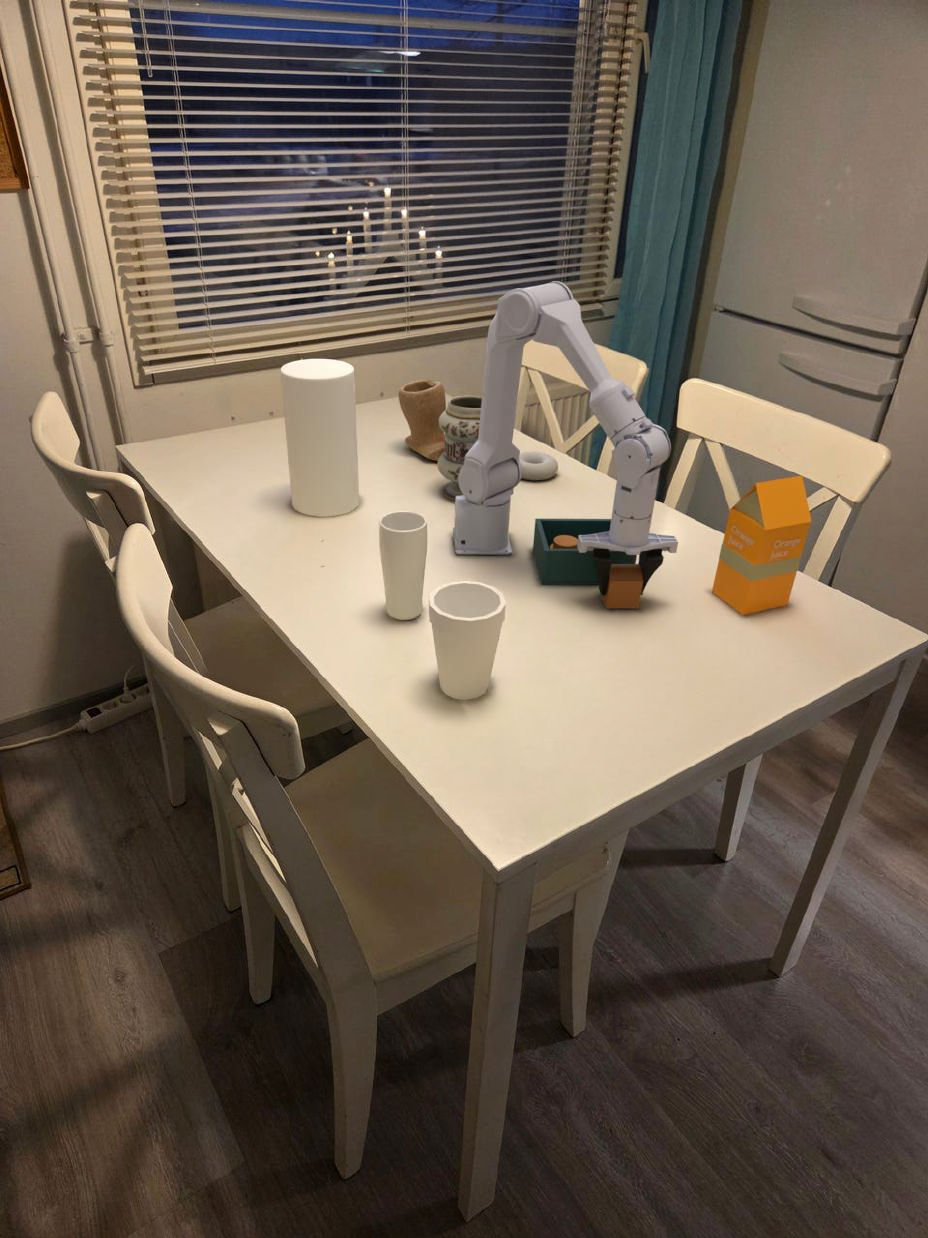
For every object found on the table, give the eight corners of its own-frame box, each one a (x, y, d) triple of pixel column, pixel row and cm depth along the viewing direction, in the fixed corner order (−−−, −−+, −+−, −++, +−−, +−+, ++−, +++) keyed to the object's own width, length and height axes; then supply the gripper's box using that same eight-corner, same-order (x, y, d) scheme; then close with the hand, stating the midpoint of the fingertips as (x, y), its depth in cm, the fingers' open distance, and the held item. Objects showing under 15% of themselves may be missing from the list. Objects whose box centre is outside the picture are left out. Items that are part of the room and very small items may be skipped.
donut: (505, 480, 166) (554, 485, 165) (506, 464, 165) (556, 468, 163) (512, 462, 175) (560, 466, 173) (513, 447, 173) (561, 451, 171)
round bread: (550, 573, 133) (552, 547, 131) (546, 558, 137) (548, 533, 135) (581, 573, 133) (584, 547, 131) (575, 558, 138) (578, 533, 135)
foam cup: (426, 664, 112) (427, 581, 105) (494, 663, 112) (499, 580, 105) (430, 708, 104) (431, 621, 97) (503, 706, 104) (509, 620, 97)
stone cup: (390, 444, 181) (389, 376, 173) (439, 437, 186) (440, 370, 178) (419, 469, 170) (419, 397, 162) (470, 460, 174) (473, 390, 166)
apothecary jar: (486, 477, 167) (491, 389, 157) (508, 501, 157) (513, 409, 148) (429, 483, 164) (430, 393, 154) (447, 508, 154) (449, 414, 144)
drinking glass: (392, 628, 119) (390, 535, 111) (374, 606, 124) (371, 515, 116) (434, 618, 122) (435, 526, 113) (415, 596, 127) (415, 507, 118)
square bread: (606, 608, 125) (611, 573, 122) (599, 591, 129) (604, 557, 126) (638, 608, 125) (644, 574, 122) (631, 591, 129) (636, 557, 126)
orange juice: (710, 591, 131) (737, 473, 120) (755, 581, 134) (784, 465, 123) (743, 616, 125) (774, 493, 114) (788, 605, 128) (822, 485, 117)
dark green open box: (541, 584, 131) (544, 550, 128) (532, 550, 141) (535, 518, 137) (632, 584, 132) (637, 551, 128) (617, 551, 142) (621, 518, 138)
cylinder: (279, 508, 152) (265, 372, 138) (314, 484, 161) (305, 354, 148) (338, 521, 148) (331, 382, 134) (371, 496, 158) (366, 364, 144)
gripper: (587, 522, 115) (577, 605, 122) (689, 523, 116) (673, 605, 123) (579, 501, 121) (569, 581, 128) (676, 502, 122) (661, 582, 129)
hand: (619, 592), depth 126 cm, fingers closed on square bread, 5 cm apart
